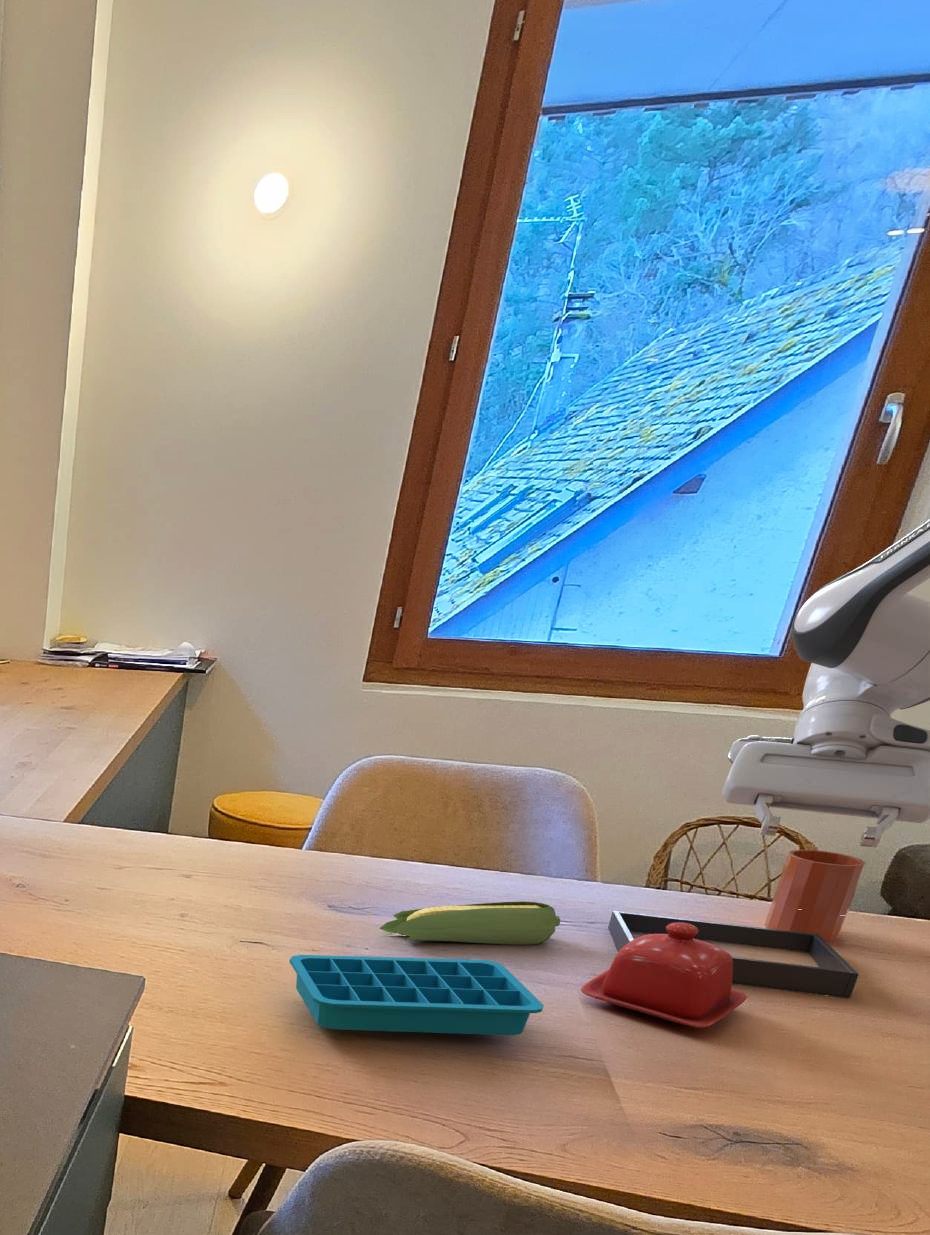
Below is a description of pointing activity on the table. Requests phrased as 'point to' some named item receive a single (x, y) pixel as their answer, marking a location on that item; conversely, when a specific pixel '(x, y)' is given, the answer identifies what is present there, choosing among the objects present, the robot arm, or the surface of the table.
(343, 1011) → the ice cube tray
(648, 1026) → the table surface
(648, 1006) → the butter dish
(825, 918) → the cup
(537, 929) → the edible corn
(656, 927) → the tray
